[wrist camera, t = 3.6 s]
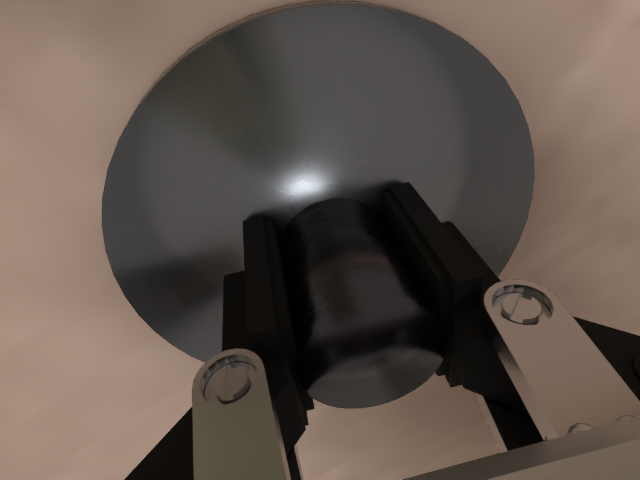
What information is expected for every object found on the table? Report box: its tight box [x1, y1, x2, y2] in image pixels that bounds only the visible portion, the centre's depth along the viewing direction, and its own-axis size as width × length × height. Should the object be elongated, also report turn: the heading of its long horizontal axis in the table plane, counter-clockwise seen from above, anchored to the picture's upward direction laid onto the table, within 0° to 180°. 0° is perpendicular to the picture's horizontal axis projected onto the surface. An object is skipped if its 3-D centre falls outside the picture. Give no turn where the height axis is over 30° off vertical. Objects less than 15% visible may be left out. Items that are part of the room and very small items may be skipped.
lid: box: [102, 0, 534, 408], centre depth 10 cm, size 12×12×5 cm
